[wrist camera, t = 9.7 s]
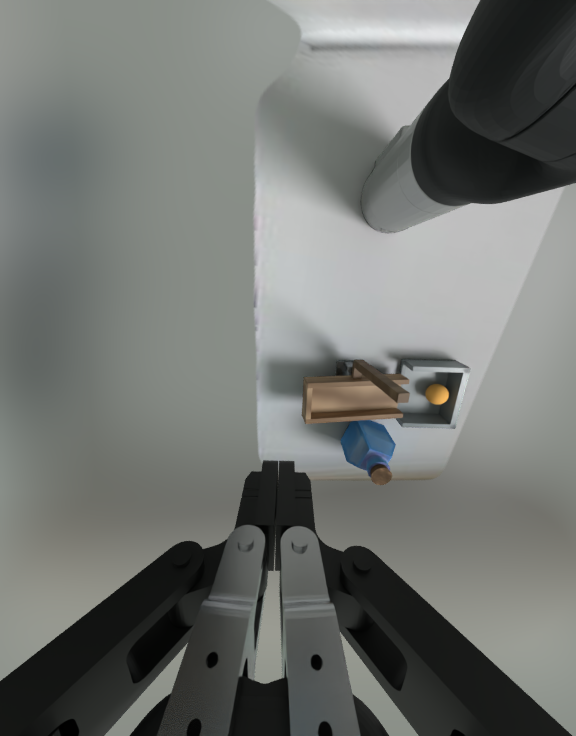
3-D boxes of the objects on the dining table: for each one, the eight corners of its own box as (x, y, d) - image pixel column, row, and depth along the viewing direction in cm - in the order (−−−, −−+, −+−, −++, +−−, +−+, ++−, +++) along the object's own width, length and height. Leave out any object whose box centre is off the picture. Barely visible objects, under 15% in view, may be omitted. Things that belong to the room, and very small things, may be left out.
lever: (304, 358, 43) (333, 396, 30) (403, 356, 46) (469, 390, 32) (301, 415, 46) (326, 472, 33) (393, 410, 49) (450, 460, 36)
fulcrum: (336, 360, 48) (339, 366, 45) (365, 361, 48) (370, 367, 45) (332, 411, 51) (334, 420, 48) (358, 412, 51) (363, 420, 48)
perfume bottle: (383, 425, 52) (409, 467, 41) (368, 450, 54) (389, 497, 43) (354, 414, 51) (373, 454, 40) (340, 440, 53) (354, 485, 42)
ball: (426, 379, 49) (428, 386, 46) (449, 382, 48) (452, 390, 45) (422, 397, 50) (424, 405, 47) (444, 401, 49) (447, 409, 46)
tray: (401, 359, 48) (411, 366, 44) (456, 360, 48) (470, 368, 44) (392, 415, 51) (400, 427, 47) (442, 417, 51) (455, 428, 48)
